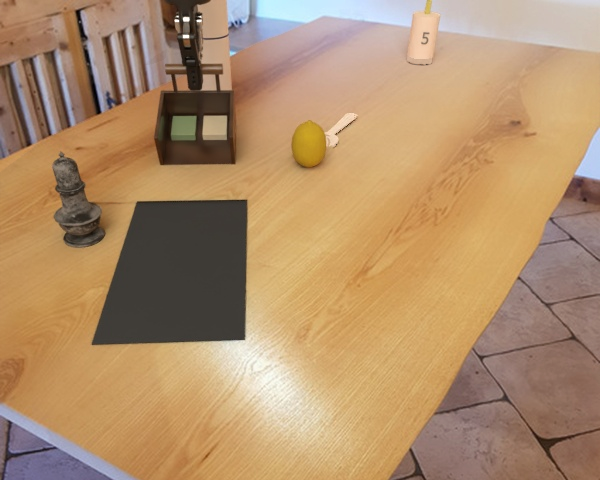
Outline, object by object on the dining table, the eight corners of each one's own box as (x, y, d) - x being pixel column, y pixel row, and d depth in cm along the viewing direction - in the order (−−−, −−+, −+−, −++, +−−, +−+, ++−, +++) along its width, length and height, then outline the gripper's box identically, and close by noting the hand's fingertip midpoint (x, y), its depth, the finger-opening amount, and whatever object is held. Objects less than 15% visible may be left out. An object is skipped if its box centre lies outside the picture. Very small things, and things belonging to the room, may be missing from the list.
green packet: (173, 121, 94) (172, 115, 93) (197, 121, 94) (196, 115, 93) (171, 140, 91) (170, 134, 90) (195, 140, 92) (195, 134, 91)
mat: (147, 169, 88) (147, 167, 88) (247, 167, 89) (247, 166, 89) (91, 344, 57) (91, 343, 57) (244, 340, 58) (244, 338, 58)
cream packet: (204, 121, 94) (203, 115, 93) (227, 121, 95) (227, 115, 94) (203, 140, 92) (202, 134, 91) (227, 140, 92) (226, 134, 91)
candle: (408, 65, 131) (417, -5, 121) (405, 57, 136) (414, -12, 126) (434, 66, 131) (446, -5, 121) (430, 57, 136) (441, -11, 126)
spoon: (366, 118, 105) (366, 115, 105) (326, 154, 93) (326, 151, 93) (341, 112, 107) (341, 110, 107) (298, 147, 95) (298, 144, 94)
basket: (167, 119, 95) (155, 61, 87) (236, 118, 96) (231, 61, 87) (160, 168, 88) (147, 110, 79) (235, 167, 89) (230, 110, 80)
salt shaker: (80, 220, 76) (57, 137, 68) (116, 229, 74) (96, 146, 66) (51, 242, 72) (23, 157, 64) (88, 252, 70) (64, 166, 62)
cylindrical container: (210, 110, 107) (197, -38, 91) (190, 99, 111) (174, -44, 95) (239, 101, 111) (232, -43, 95) (218, 91, 115) (208, -48, 99)
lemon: (303, 179, 86) (304, 130, 81) (284, 165, 90) (284, 118, 84) (332, 171, 88) (335, 123, 83) (312, 158, 92) (314, 111, 87)
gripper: (162, -46, 82) (177, 72, 94) (149, -27, 72) (168, 103, 84) (212, -45, 83) (221, 72, 94) (207, -26, 73) (217, 103, 84)
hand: (196, 86), depth 89 cm, fingers closed on basket
